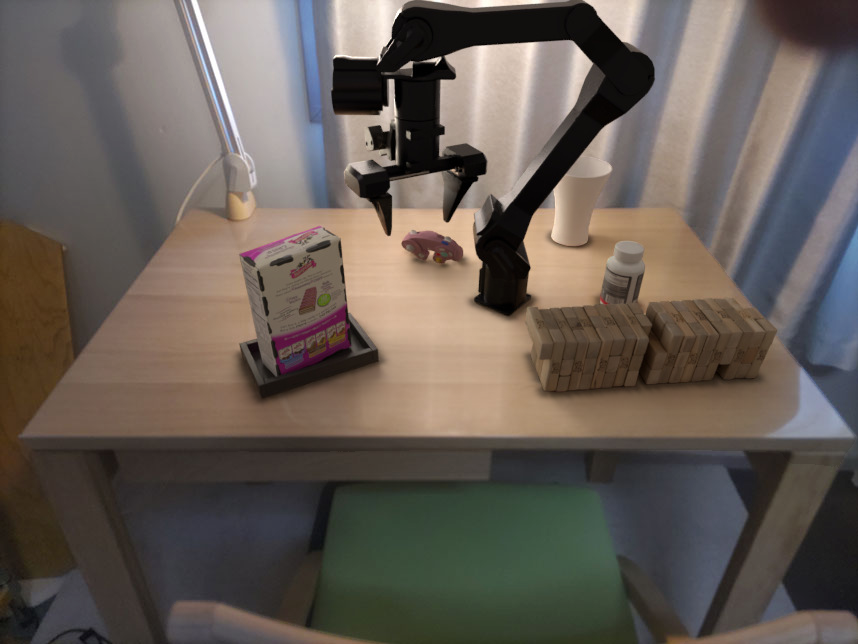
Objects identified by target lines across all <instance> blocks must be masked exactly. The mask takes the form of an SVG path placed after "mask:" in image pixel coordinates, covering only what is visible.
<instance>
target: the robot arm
mask: <svg viewBox="0 0 858 644" xmlns="http://www.w3.org/2000/svg"><path fill="white" fill-rule="evenodd" d="M390 36H391V37H390V39H389V40H388V41H387V43H386V44H385V46H382V47H381V50H380V53H379V56H351V55H346V54H335V56H334V57H333V59H332V66H333V67H332V86H331V87H332V88H331V89H330V97H331V105H332V110H333V114H334V115H335V116H381V113H382V112H383V111H384V108H389V107H390V80H393V104H394V107H393V108H394V109H393V110H394V118H393V119H390V123H389V130H385V131H384V130H383V127H382V125H380V124H377V125H370V126H365V127H364V143H365V148H366V150H367V151H368V152H374V151H375V152H376V151H378V153H379V157H385V156H386V158H387V159H388V160H389V161H391V162H392V161H393V162H395V164H392V165H386V166H381V164H379V163H378V162H376V161H375V160H374V159H368V160H367V159H366V160H362V161H355V162H350V163H348V164H347V165H346V167H345V169H344V171H343V175H344V184H345V185H346V186H347V187H348V188H349V190H351V191H352V192H353V193H354V194H355V195H356V196H358V197H359V198H360V199H366V200H367V201H368V202H369V203H371V204H372V206H373V208H374V211H375V212H376V215H377V217H378V220H379V222H380V225H381V226H382V230H383V231H384V234H385V235H386V236H387V237H391V236H392V231H393V195H392V194H390V192H388V191H389V190H390V189H391V182H394V181H399V180H404V179H411V178H415V177H420V176H425V175H426V176H427V175H431V174H436V173H437V174H438V173H441V176H442V180H443V192H442V193H443V195H442V198H443V199H442V220H443V222H445V223H446V224H449V223H450V221H451V220H452V218H453V216H454V214H455V213H456V211H457V209H458V207H459V206H460V203H461V202H462V200H463V199H464V197H465V196H466V195H467V193H468V192H469V190H470V188H471V187H472V186H473V184H474V183H477V182H479V179H480V178H479V176H485V175H487V173H488V159H487V156H486V154H485V153H484V152H483V151H481V150H480V149H478V148H476V147H474V146H473V145H471V144H469V143H467V142H464V143H458V144H454V145H448V146H447V145H446V146H445V147H444V148H443V149H442V151H441V155H440V146H441V145H440V142H441V141H440V140H441V139H440V137H441V136H445V135H446V126H445V125H443V124H441V85H442V82H441V81H454V80H456V79H457V71H456V67H454V66H453V65H451V63H450V62H449V61H448V59H447V57H446V56H449V55H451V54H453V53H457V52H459V51H462V50H465V49H468V48H473V47H484V46H499V45H500V46H501V45H513V44H530V43H545V42H546V43H547V42H562V41H563V42H564V41H571V42H573V43H574V45H576V47H578V49H579V50H580V51H581V52H582V54H584V55H585V56H586V58H588V59H589V61H590V62H591V63H592V65H591V67H590V68H589V70H588V72H587V74H586V76H585V78H584V80H583V83H582V85H581V88H580V91H579V94H578V97H577V99H576V102H575V104H574V106H573V107H572V109H570V110H569V112H568V114H567V115H566V117H565V118H563V120H562V122H561V123H560V124H559V126H558V127H557V129H556V130H555V131H554V132H553V134H551V136H550V137H549V138H548V140H547V141H546V142H545V144H544V146H543V147H542V148H541V149H540V150H539V152H538V153H537V154H536V156H535V158H534V159H533V160H532V161H531V163H530V164H529V165H528V166H527V168H526V169H525V171H524V172H523V173H522V174H521V176H520V177H519V179H517V181H516V182H515V183H514V185H513V186H512V188H511V189H510V190H509V191H508V192H507V193H505V194H504V195H502V196H500V197H498V198H496V196H494V195H493V193H489V194H488V196H487V197H486V199H485V201H484V203H483V205H482V206H481V208H480V209H478V210H477V211H476V212H474V213H473V219H474V222H473V223H472V232H473V233H472V234H473V243H474V250H475V254H476V256H477V258H478V260H480V262H481V268H480V269H479V270H478V287H477V291H478V293H479V294H477V295H476V296H475V297H473V302H474V303H476V304H479V305H481V306H483V307H486V308H488V309H491V310H493V311H495V312H497V313H500V314H503V315H505V316H507V317H510V316H512V315H513V314H515V312H517V311H518V310H519V309H520V308H522V307H523V306H524V305H525V304H526V303H528V302H529V301H530V300H532V294H530V293H528V292H527V291H528V283H529V275H530V271H531V269H532V268H531V267H532V266H531V263H530V260H529V256H528V252H527V248H526V245H525V241H524V240H525V238H526V236H527V232H528V230H529V228H530V224H531V221H532V218H533V216H534V215H535V213H536V212H537V211H538V209H540V207H541V206H542V204H543V203H544V202H545V201H546V200H547V198H548V197H549V196H550V195H551V193H552V192H554V190H553V189H554V188H555V187H556V186H557V184H558V183H559V182H560V181H561V179H562V178H563V177H564V176H565V174H566V173H567V172H568V171H569V169H570V168H571V167H572V166H573V164H574V163H575V162H576V161H577V159H578V158H579V157H580V156H581V155H583V154H584V153H585V151H586V149H587V148H588V147H589V146H590V145H591V143H592V142H593V141H594V139H595V138H596V137H597V136H598V135H599V133H600V132H601V131H602V130H603V129H604V128H606V126H608V125H610V124H611V123H613V122H615V121H616V120H617V119H619V118H621V117H622V116H624V115H627V113H628V112H629V111H631V109H633V108H634V107H635V106H636V105H637V104H638V103H639V102H640V101H641V100H643V99H644V97H646V96H647V94H649V92H650V91H651V89H652V88H653V86H654V84H655V81H656V76H655V74H656V70H655V65H654V63H653V60H652V59H651V58H650V57H649V55H647V54H646V53H645V52H643V51H642V50H641V49H639V48H638V47H636V46H635V45H633V44H631V43H629V42H627V41H622V40H621V39H620V37H618V35H616V33H614V32H613V30H612V29H611V28H610V27H609V26H608V25H607V24H606V23H605V22H604V20H603V19H602V18H601V17H600V16H599V15H598V12H597V9H595V7H594V6H593V5H591V4H590V3H588V2H587V1H585V0H567V1H557V2H554V1H553V2H541V3H540V2H539V3H538V2H537V3H524V4H510V5H493V6H481V7H468V6H462V5H461V6H460V5H456V4H451V3H446V2H439V1H431V0H408V1H407V2H405V3H403V4H402V5H401V7H400V8H399V9H398V10H397V12H396V13H395V17H394V20H393V23H392V26H391V35H390ZM434 59H436V60H435V61H430V60H434ZM410 62H412V67H409V68H403V67H404V66H406V65H407V64H408V63H410Z"/></svg>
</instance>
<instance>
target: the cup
mask: <svg viewBox="0 0 858 644" xmlns="http://www.w3.org/2000/svg"><path fill="white" fill-rule="evenodd" d="M613 171H614V168H613V166H612V164H611V163H609V162H608V161H606V160H605V159H601V158H598V157H594V156H590V155H583V154H581V156H580V157H579V158H578V159H577V161H576V162H575V163H574V164H573V166H572V167H571V168H570V169H569V171H568V172H567V173H566V174H565V176H564V177H563V178H562V179H561V181H560V182H559V183H558V184H557V186H556V187H555V188H554V189H553V195H554V221H553V222H554V223H553V226H552V230H551V234H550V237H551V239H552V240H553V241H554V242H555V243H557V244H559V245H562V246H566V247H579V246H583V245H585V244H587V242H588V241H589V230H590V225H591V219H592V215H593V213H594V210H595V207H596V204H597V201H598V199H599V197H600V195H601V192H602V191H603V189H604V187H605V186H606V183H607V182H608V179H609V178H610V176H611V174H612V173H613Z"/></svg>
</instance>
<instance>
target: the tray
mask: <svg viewBox="0 0 858 644" xmlns="http://www.w3.org/2000/svg"><path fill="white" fill-rule="evenodd" d="M348 315H349V325H350V335H351V344H352V346H351V347H349V348H347V349H345V350H343V351H341V352H339V353H337V354H335V355H333V356H331V357H329V358H327V359H325V360H323V361H321V362H319V363H317V364H315V365H312V366H309V367H306V368H302V369H299V370H296V371H293V372H289V373H286V374H283V375H280V376H276V377H275V376H274V374H273V373H272V372H271V371H270V370H268V369H267V368H266V367H265V366H264V364H263V363H262V359H261V354H260V349H259V345H258V340H257V338H254V339H249V340H247V341H243V342H239V343H238V344H239V349H240V354H241V357H242V359H243V361H244V363H245V365H246V368H247V370H248V372H249V375H250V377H251V379H252V381H253V383H254V385H255V388H256V391H257V393H258V395H259V397H260V398H261V399H264V398H266V397H270V396H272V395H273V396H274V395H277V394H280V393H283V392H286V391H289V390H292V389H295V388H297V387H298V388H299V387H301V386H304V385H307V384H311V383H313V382H314V383H315V382H317V381H320V380H323V379H326V378H329V377H333V376H336V375H338V374H342V373H345V372H348V371H351V370H352V371H353V370H355V369H358V368H362V367H364V366H367V365H370V364H373V363H377V362H379V349H378V347H377V345H376V344H375V343H374V342H373V341H372V339H371V338H370V337H369V335H368V334H367V333H366V331H365V330H364V329H363V327H362V326H361V325H360V324H359V322H358V321H357V319H356V318H355V317H354V315H353V314H352V313H351V312H348Z"/></svg>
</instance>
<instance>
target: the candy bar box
mask: <svg viewBox="0 0 858 644" xmlns="http://www.w3.org/2000/svg"><path fill="white" fill-rule="evenodd" d="M342 248H343V247H342V238H341V237H340V236H338V235H336V234H334V233H333V232H331V231H330V230H328V229H326V228H325V227H324V226H321V225H316V226H315V227H311V228H309V229H306V230H303V231H300V232H298V233H295V234H292V235H289V236H286V237H283V238H280V239H277V240H275V241H272V242H269V243H267V244H263V245H261V246H260V245H259V246H257V247H254V248H252V249H249V250H246V251H243V252H240V253H239V254H238V256H239V260H240V266H241V270H242V274H243V279H244V283H245V287H246V292H247V293H246V294H247V297H248V302H249V305H250V312H251V317H252V321H253V326H254V331H255V336H256V339H257V340H258V345H259V349H260V354H261V359H262V363H263V364H264V366H265V367H266V368H267V369H268V370H270V371H271V372H272V373H273V374H274V376H275V377H276V376H280V375H283V374H286V373H289V372H293V371H296V370H299V369H302V368H306V367H309V366H312V365H315V364H317V363H319V362H321V361H323V360H325V359H327V358H329V357H331V356H333V355H335V354H337V353H339V352H341V351H343V350H345V349H347V348H349V347H351V346H352V344H351V335H350V325H349V315H348V313H349V308H348V299H347V286H346V277H345V268H344V259H343V249H342Z"/></svg>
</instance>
